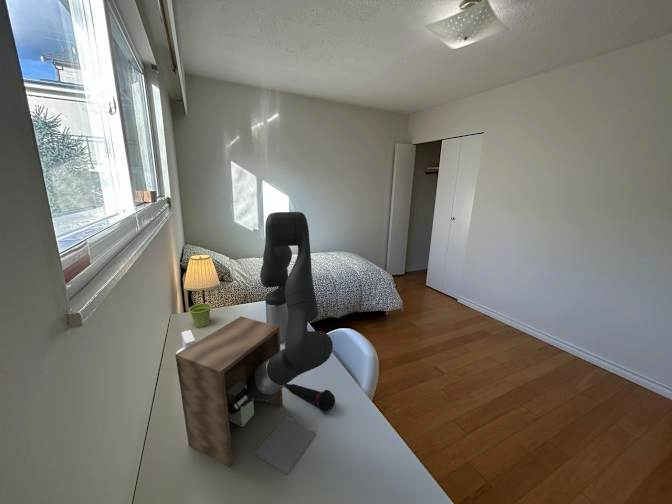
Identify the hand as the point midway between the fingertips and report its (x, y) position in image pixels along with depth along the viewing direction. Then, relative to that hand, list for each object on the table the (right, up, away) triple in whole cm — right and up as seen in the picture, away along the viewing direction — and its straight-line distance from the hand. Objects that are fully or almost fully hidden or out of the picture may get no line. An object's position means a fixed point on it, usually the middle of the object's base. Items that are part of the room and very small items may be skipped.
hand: (235, 402), depth 74 cm
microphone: (+19, -5, +11) cm, 22 cm away
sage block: (+2, -4, 0) cm, 5 cm away
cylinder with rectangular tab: (-25, 0, +25) cm, 35 cm away
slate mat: (+15, -8, -5) cm, 18 cm away
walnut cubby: (+1, -6, +1) cm, 6 cm away
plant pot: (-36, +7, +54) cm, 65 cm away
